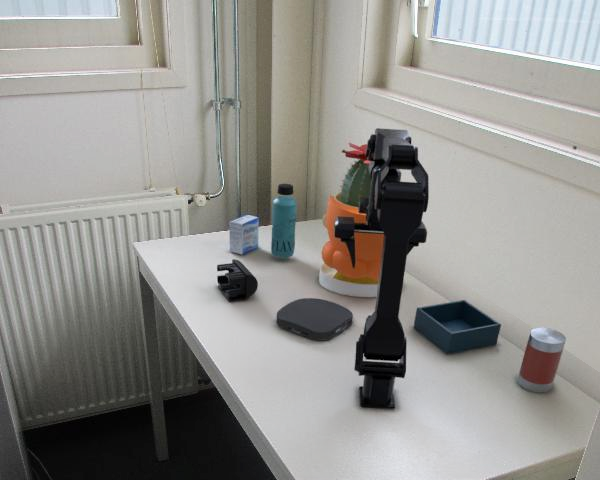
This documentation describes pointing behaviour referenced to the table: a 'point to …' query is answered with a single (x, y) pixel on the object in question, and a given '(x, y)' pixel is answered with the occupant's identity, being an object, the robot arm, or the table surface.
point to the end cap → (236, 281)
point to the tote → (456, 326)
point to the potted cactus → (368, 246)
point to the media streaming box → (314, 318)
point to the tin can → (541, 359)
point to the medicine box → (244, 234)
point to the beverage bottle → (283, 222)
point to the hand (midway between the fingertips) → (375, 268)
